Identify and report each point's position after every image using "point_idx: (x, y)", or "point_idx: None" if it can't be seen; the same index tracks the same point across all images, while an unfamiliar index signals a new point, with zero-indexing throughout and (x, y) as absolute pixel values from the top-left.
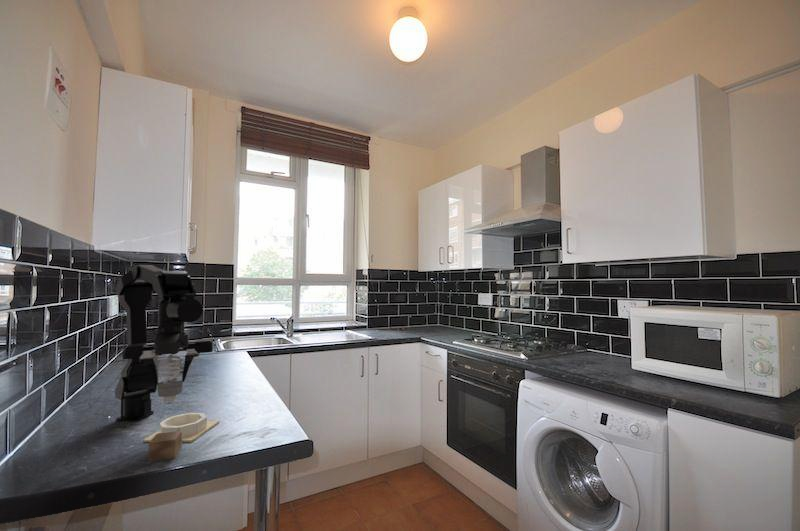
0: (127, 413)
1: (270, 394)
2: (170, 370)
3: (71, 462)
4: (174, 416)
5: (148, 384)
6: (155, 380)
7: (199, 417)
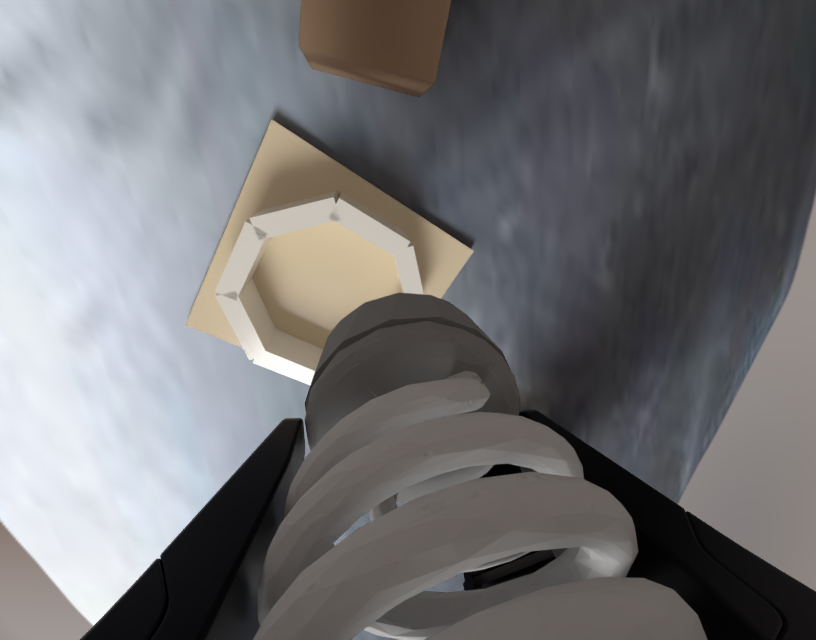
0: None
1: (33, 553)
2: (441, 598)
3: (678, 170)
4: None
5: None
6: (563, 434)
7: (265, 337)
